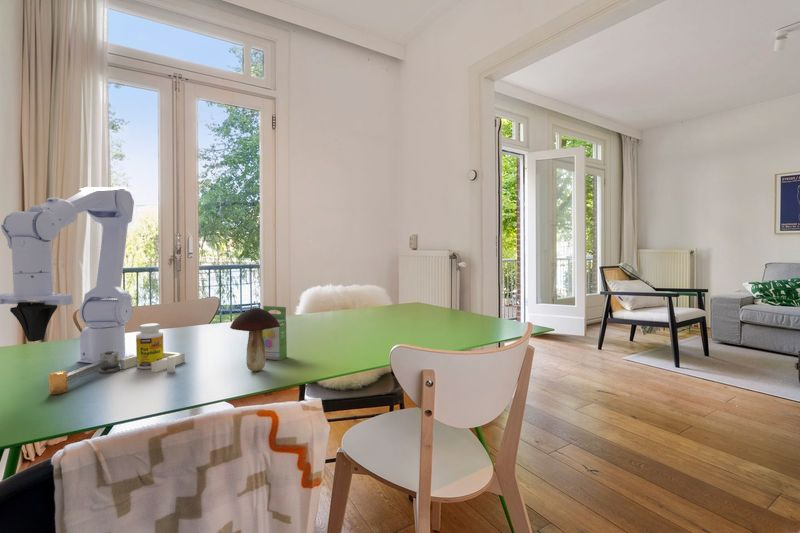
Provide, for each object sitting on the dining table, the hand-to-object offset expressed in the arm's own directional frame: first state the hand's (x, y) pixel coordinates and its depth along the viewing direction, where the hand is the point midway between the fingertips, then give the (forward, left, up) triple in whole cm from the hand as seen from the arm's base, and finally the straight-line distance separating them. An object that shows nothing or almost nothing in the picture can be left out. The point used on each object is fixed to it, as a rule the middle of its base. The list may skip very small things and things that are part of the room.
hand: (35, 340), depth 79 cm
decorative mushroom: (+34, +23, -11) cm, 43 cm away
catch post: (+15, +17, -10) cm, 25 cm away
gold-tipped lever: (+3, +7, -10) cm, 13 cm away
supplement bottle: (+7, +20, -11) cm, 23 cm away
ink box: (+31, +34, -11) cm, 47 cm away
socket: (+7, +20, -10) cm, 23 cm away
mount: (+1, +14, -10) cm, 17 cm away
